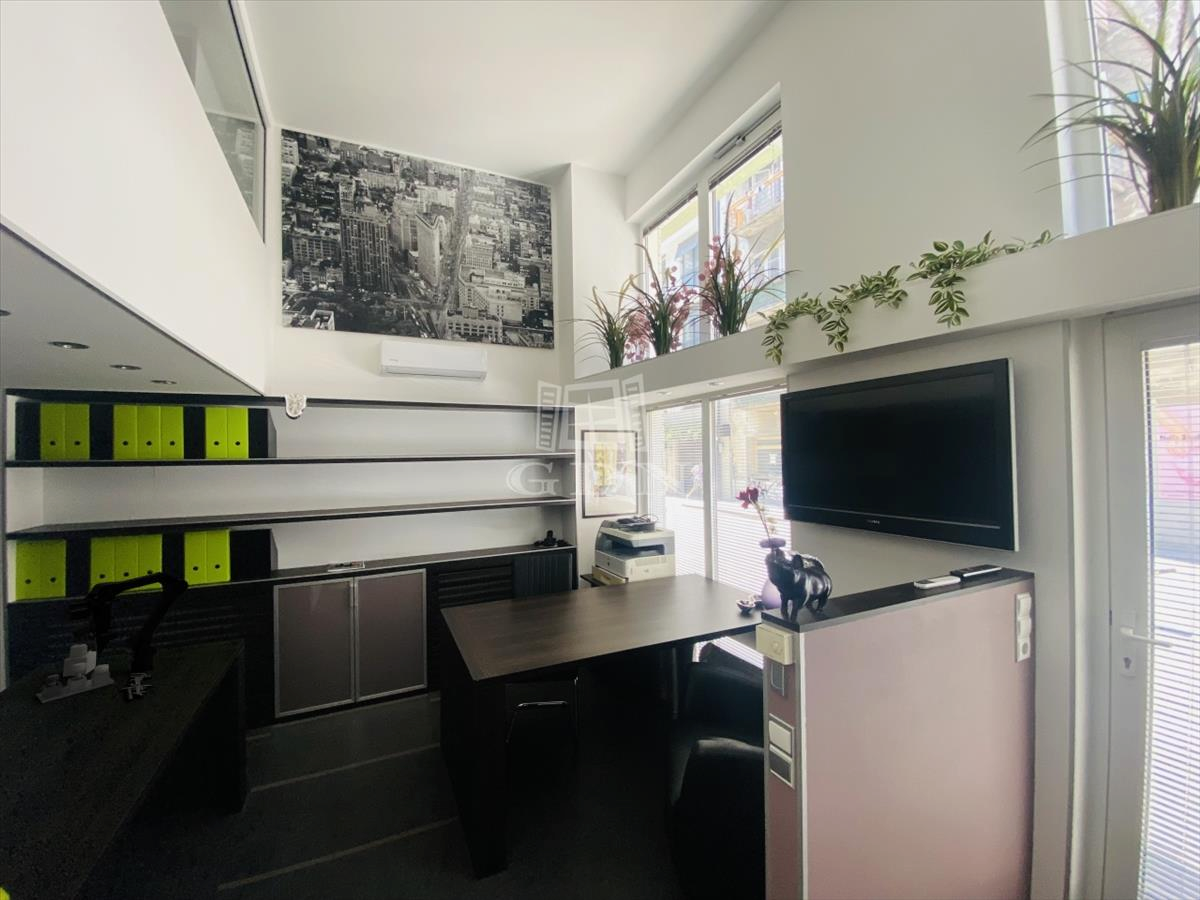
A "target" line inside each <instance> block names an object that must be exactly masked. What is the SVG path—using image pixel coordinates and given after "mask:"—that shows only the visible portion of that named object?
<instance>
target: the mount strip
mask: <svg viewBox="0 0 1200 900" xmlns="http://www.w3.org/2000/svg"><path fill="white" fill-rule="evenodd" d="M110 676H111V671H110V670H108V672H106V673H103V674H97V675H95V674H94V672H92V673H91V679H88V680H87V677H86V676H85V674H84V675H81V679H79V680H75V681H74V677H71V678H68V679H67V685H65V686H63V684H62V683H61V682H60V681H56V686H52V687H48V686H49V683H46V684H44V685H42V686H41V692H40V693H36V697H37V699H38V698H39V699H38V700H39V701H40V703H42V704H44V703H47V702H51V701H56V700H58V699H61V698H65V697H66V698H67V697H68V696H72V695H75V694H80V693H83V692H86V691H90V690H95V689H98V688H102V687H106V686H108V685H109V686H110V685H112V684H115V680H114V679H112V678H111V677H110Z"/></svg>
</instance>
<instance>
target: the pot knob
mask: <svg viewBox="0 0 1200 900" xmlns="http://www.w3.org/2000/svg"><path fill="white" fill-rule="evenodd" d="M59 680H60V674H57V673H56V674H52V675H47V676H46V678H45V683H46V684H49V686H48V687H52V686H56V682H59Z"/></svg>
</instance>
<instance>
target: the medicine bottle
mask: <svg viewBox="0 0 1200 900" xmlns="http://www.w3.org/2000/svg"><path fill="white" fill-rule="evenodd" d="M92 645H93V644H92V642H89V641H83V642H78V643H75V644H73V645H71V646H70V648H69V649H70V650H69V656H68V657H67V658H65V659H64V660H63V670H62V672H63V673H62V677H63V678H65V677H66V678H67V677H74V673H70V668H71V666H72V665H74V664H78V663H86V668H85V670H84V671H82V672H81V676H82V675H84V676H85V675H87V674H88V673H90V672H91V671H93V670H94V667H96V661H97V652H96V650H95V651H92V647H93V646H92Z"/></svg>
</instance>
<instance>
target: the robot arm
mask: <svg viewBox="0 0 1200 900" xmlns="http://www.w3.org/2000/svg"><path fill="white" fill-rule="evenodd" d="M157 583H159V585H161V586H163V589H162V594H161V597H160V600H159V601H158V603H157V604H156V606H155V607H154V609H153V611H151V613H150V615H149V616H148V618H147V619H146V621H145V623H144V624H143V626H142V627H141V628H140V630H139V631H138V632H136V633H131V634H130V635H129V637H128V639H127V640H126V641H124V646H123V647H124V648H123V649H124V651H125V652H126V653H128V654H129V655H130V656H131V657H130V658H131V660H129V662H128V664H129V666H128V671H130V672H131V674H133V673H143V672H146V671H151V670H153V669H155V667H154V656H155V655H156V653H157V651H158V649H156V648H155V647H153V646H151V645H153V644H152V643H153V641H154V634H155V632H156V630H157V629H158V627H159V626H160V624H161V623H162V621H163V619H164V618H165V617H166V614H168V612H169V610H170V609H171V607H172V606H173V603H174V602H175V601H177V599H179V598H181V596H183V595H184V594H185V592H186V591H187V590H188V588H189V586H190V585H189V582H188V581H187V580H185V579H181V578H176V577H173V576H171V575H169V574H168V573H167V572H162V571H157V572H154V573H151V574H146V575H142V576H137V577H133V578H128V579H125V580H119V581H104V582H98V583H96V584H95V585H93V586H92V588H91V589H90V592H89V593H88V594H87V595H86V596H85V597H84V598H83V599H82V601H79V602H74V603H73V602H72V603H67V605H66V607H65V608H64V611H63V612H62V616H63V617H62V619H63V620H64V622H65V623H70V622H74V621H79V620H84V619H88V618H89V617H90V618H89V619H88V622H86V623H83V624H80V625H78V626H76V627H73V628H70V629H69V630H68V632H69V634H70V636H71V638H72V639H73V640H78V639H80V638H81V637H83V636H85V635H87V638H88V639H89V640H91V642H93V645H94V648H95V651H96V655H100V654H102V653H103V651H104V650H105V648H106V647H107V646H108V644H109V643H110V641H112V640H117V639H118V638H119V632H118V631H116V630H115V629H113V628H114V626H113V625H112V623H113V622H112V621H113V620H114V619H115V618H114V616H113V606H114V603H116V602H121V599H120V598H119V597H117V596H119V595H120V594H122V593H124V592H127V591H130V590H133V589H137V588H141V587H145V586H150V585H154V584H157ZM88 634H90V635H89V636H88Z"/></svg>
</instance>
